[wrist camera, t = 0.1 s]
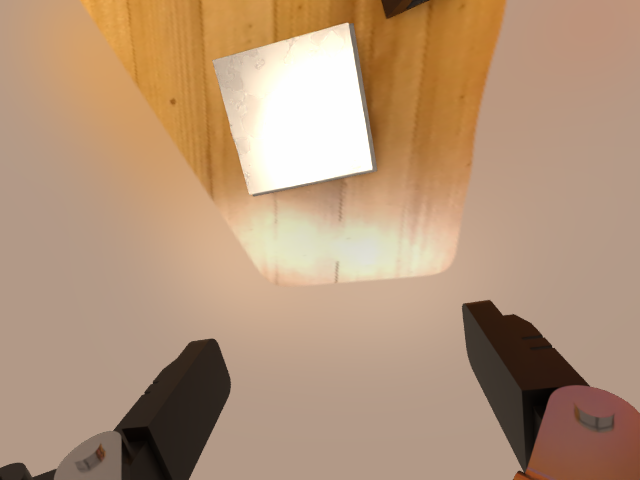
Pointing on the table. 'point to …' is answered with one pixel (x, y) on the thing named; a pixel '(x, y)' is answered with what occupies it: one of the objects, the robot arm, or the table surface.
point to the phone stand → (399, 6)
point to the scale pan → (296, 110)
